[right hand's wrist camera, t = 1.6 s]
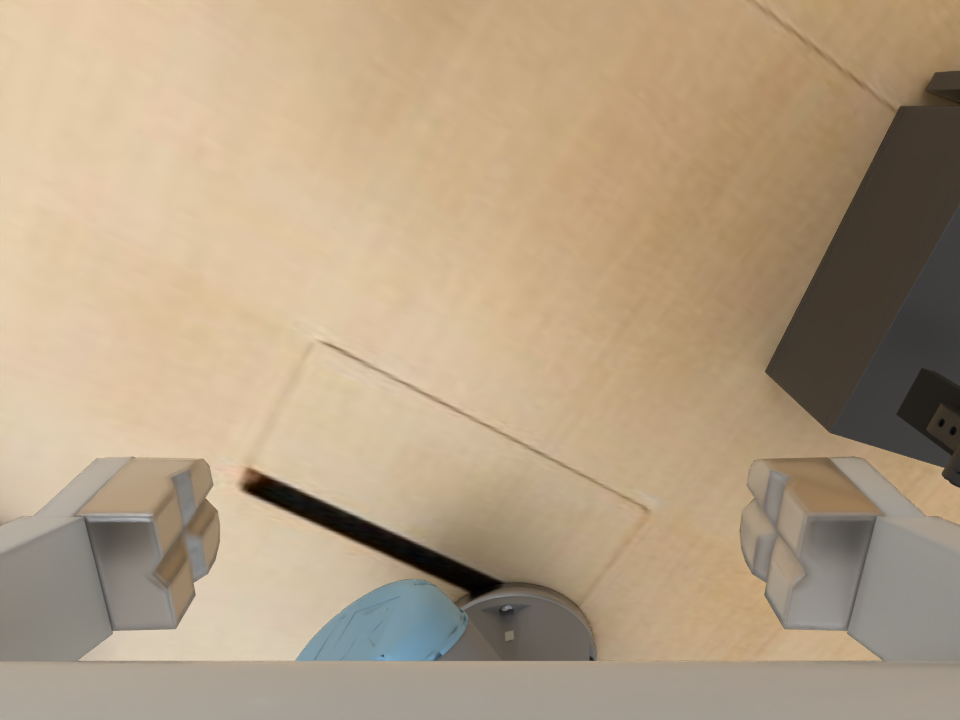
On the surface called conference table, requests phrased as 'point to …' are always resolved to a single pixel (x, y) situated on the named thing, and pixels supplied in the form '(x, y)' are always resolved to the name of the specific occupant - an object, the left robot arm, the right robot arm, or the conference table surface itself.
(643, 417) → the conference table surface
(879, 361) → the cabinet
